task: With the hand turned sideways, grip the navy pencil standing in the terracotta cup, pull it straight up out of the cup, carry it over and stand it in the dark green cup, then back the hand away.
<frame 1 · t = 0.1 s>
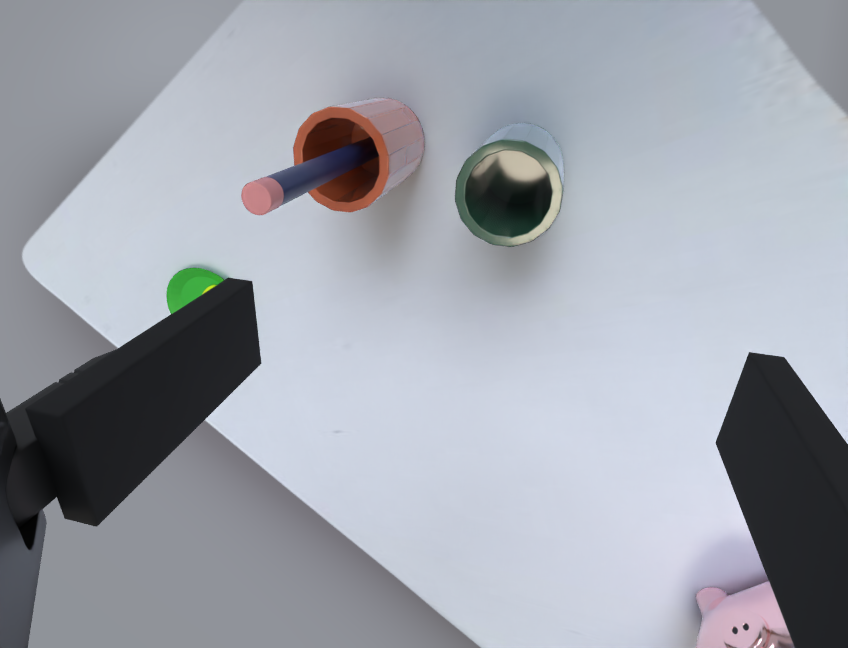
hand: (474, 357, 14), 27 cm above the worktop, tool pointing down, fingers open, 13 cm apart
terracotta cup: (385, 141, 39), on the worktop
green cup: (519, 167, 38), on the worktop
pencil: (383, 142, 39), point 1 cm above the worktop, touching terracotta cup
piggy bank: (772, 601, 50), on the worktop
lemons on green plate: (210, 305, 50), on the worktop
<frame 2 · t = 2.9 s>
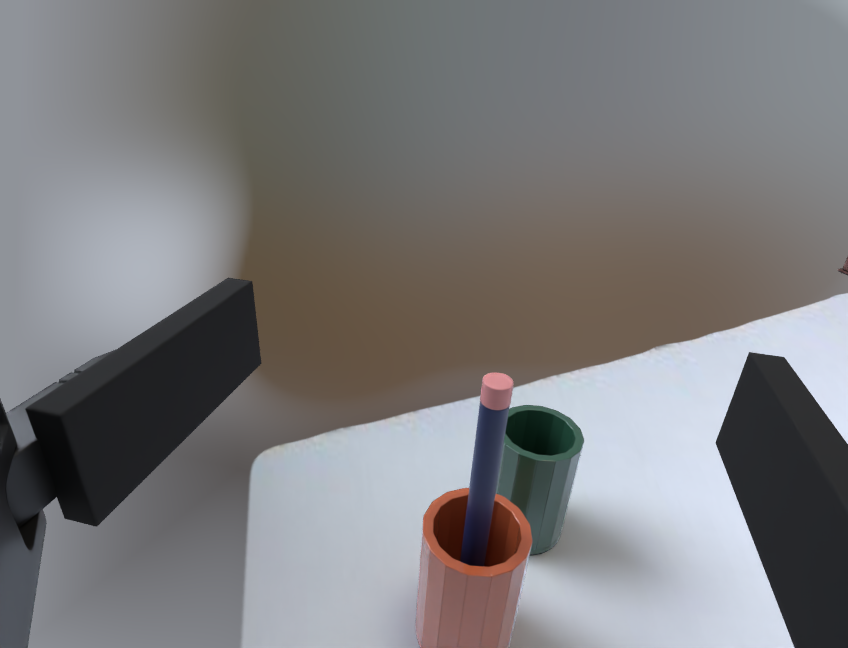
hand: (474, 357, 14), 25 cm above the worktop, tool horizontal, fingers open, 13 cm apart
terracotta cup: (462, 628, 34), on the worktop
green cup: (521, 522, 41), on the worktop
pencil: (463, 622, 33), point 1 cm above the worktop, touching terracotta cup
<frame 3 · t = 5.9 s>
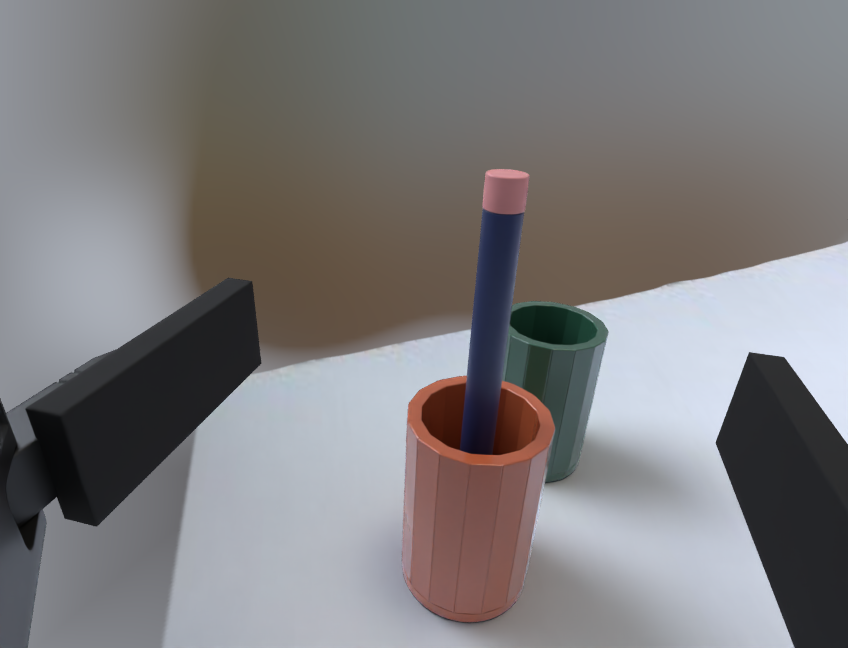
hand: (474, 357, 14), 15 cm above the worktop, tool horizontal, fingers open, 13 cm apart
terracotta cup: (463, 564, 26), on the worktop
green cup: (530, 449, 34), on the worktop
pencil: (464, 556, 26), point 1 cm above the worktop, touching terracotta cup
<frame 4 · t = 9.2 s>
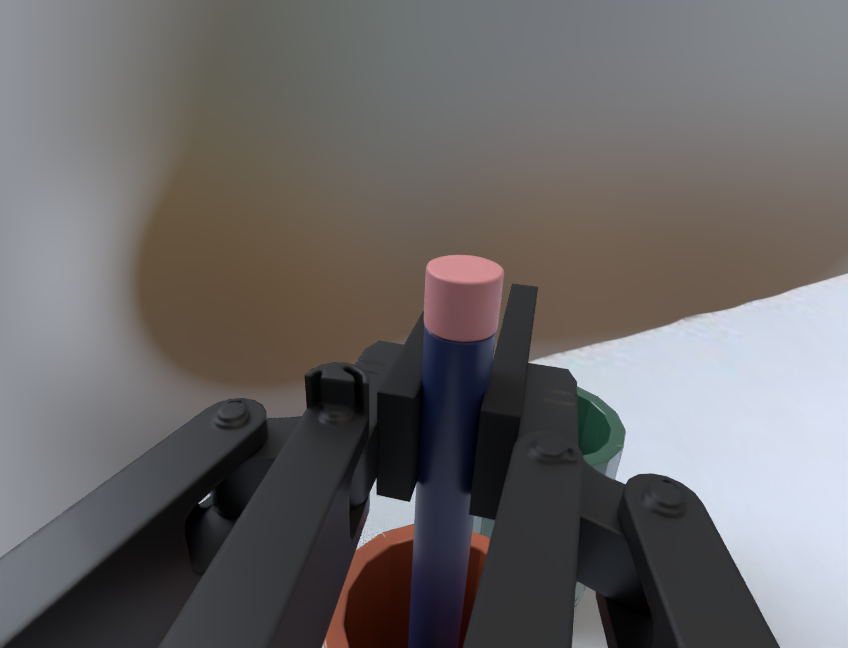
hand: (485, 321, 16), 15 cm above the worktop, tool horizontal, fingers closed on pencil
green cup: (522, 565, 26), on the worktop
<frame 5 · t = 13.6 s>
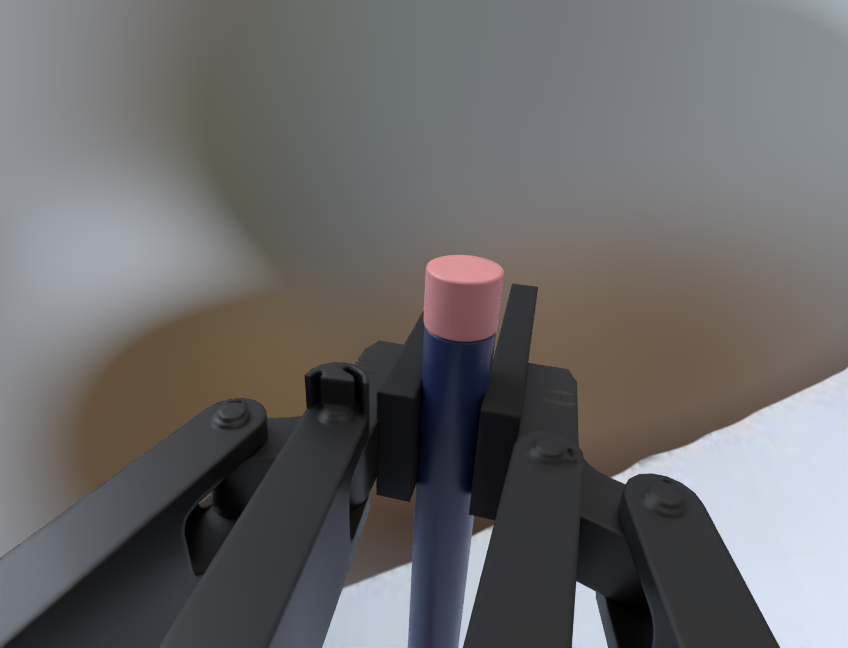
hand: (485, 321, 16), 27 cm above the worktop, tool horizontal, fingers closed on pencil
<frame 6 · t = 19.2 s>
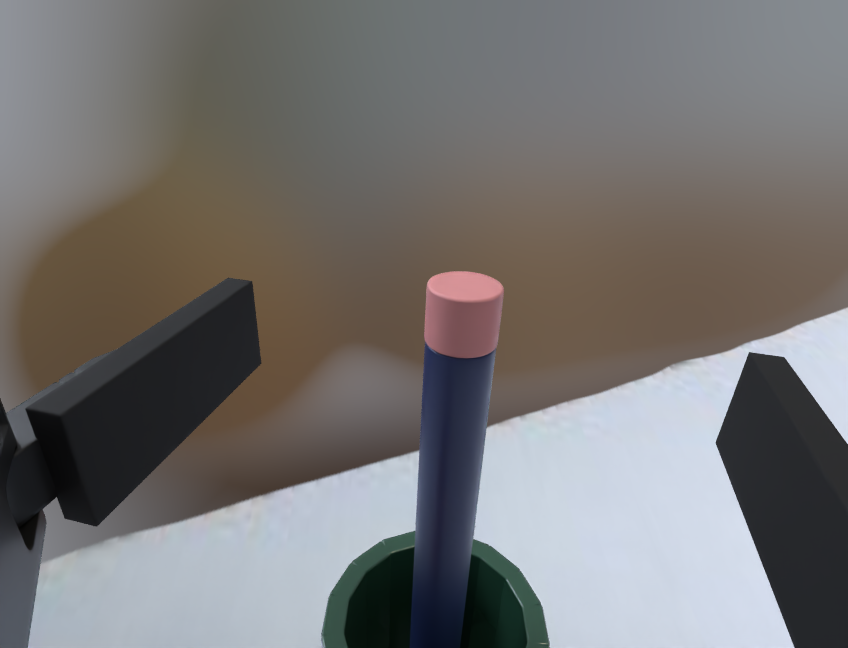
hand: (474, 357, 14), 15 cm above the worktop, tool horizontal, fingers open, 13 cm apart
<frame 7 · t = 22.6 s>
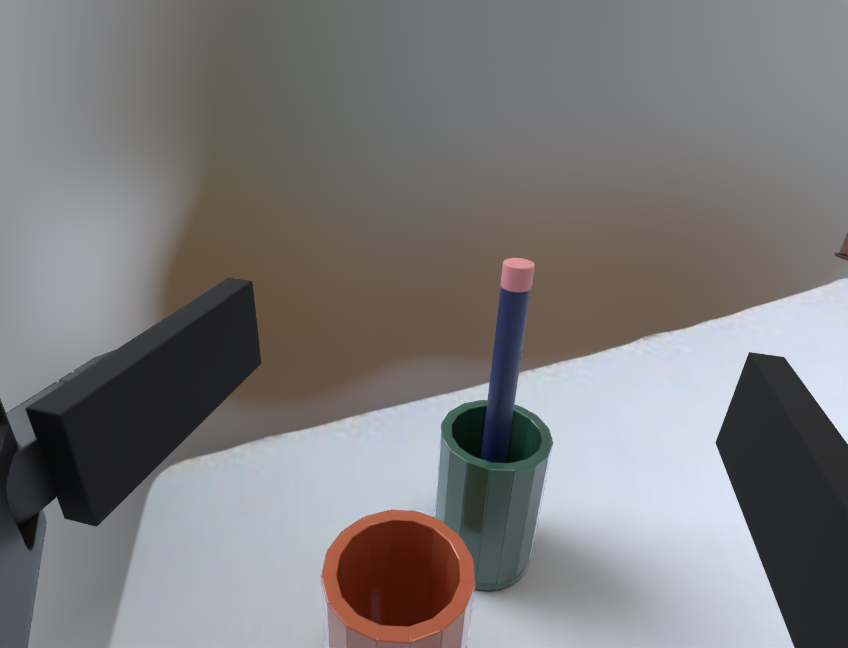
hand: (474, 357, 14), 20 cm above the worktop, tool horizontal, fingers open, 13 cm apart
green cup: (481, 547, 33), on the worktop
pencil: (482, 541, 33), point 1 cm above the worktop, touching green cup
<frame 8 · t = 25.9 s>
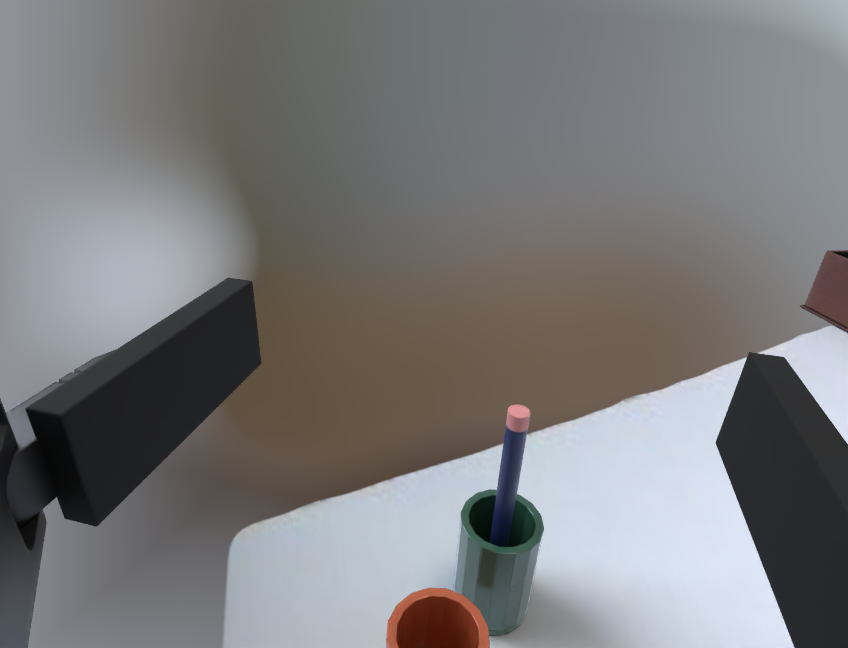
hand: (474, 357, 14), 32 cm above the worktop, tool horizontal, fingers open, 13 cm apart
green cup: (489, 599, 43), on the worktop
pencil: (490, 595, 43), point 1 cm above the worktop, touching green cup
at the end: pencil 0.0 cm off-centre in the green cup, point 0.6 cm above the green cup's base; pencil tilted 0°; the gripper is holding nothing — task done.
